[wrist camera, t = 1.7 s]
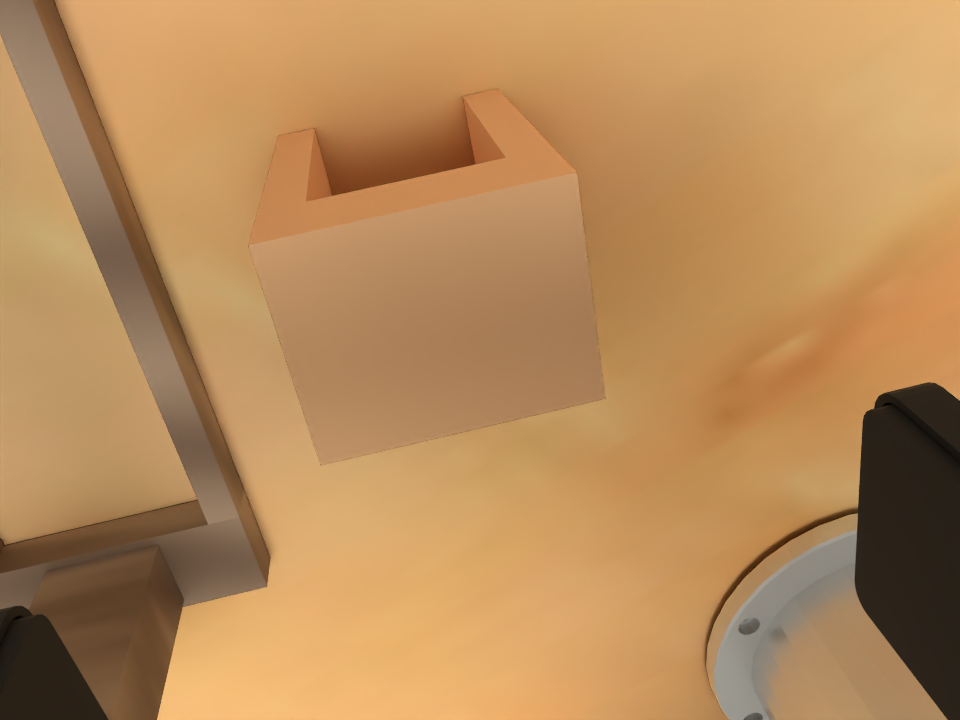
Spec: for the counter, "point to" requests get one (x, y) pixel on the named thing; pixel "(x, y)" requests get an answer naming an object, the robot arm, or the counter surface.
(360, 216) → the u-slot holder
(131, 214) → the stand
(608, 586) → the counter surface
